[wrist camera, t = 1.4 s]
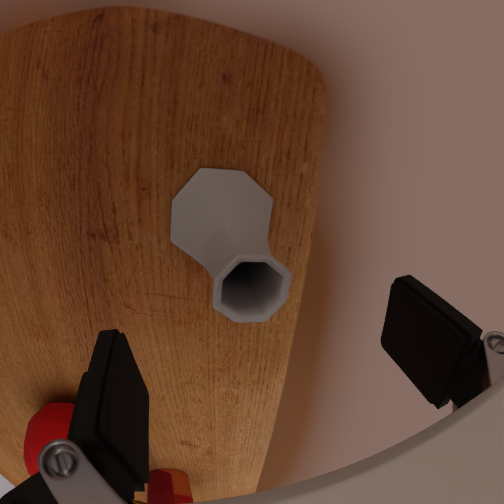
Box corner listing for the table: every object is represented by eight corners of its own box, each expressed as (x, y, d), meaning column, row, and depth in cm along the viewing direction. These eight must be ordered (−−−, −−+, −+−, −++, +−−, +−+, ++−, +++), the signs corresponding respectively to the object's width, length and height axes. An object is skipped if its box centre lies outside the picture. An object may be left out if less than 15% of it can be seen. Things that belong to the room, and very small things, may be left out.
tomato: (23, 373, 22) (-7, 457, 12) (123, 393, 25) (117, 491, 15) (49, 433, 26) (37, 503, 16) (131, 449, 29) (133, 524, 19)
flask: (154, 246, 20) (137, 336, 11) (193, 149, 18) (202, 167, 9) (245, 277, 23) (285, 370, 14) (288, 191, 21) (365, 241, 12)
